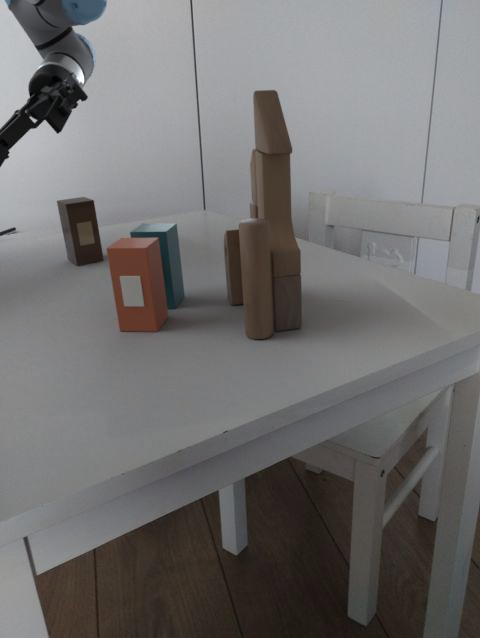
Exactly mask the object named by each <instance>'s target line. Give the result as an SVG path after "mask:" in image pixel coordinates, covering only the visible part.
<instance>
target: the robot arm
mask: <svg viewBox="0 0 480 638" xmlns="http://www.w3.org/2000/svg"><path fill="white" fill-rule="evenodd" d="M4 2H5V4H6V6H7V9H8V11H10V12H11V13H12V15H13V17H14V18H15V20H17V22H18V23H19V25H20V26H21V28H22V30H23V31H24V33H25V34H26V36H27V37H28V38H29V40H30V41H31V43H32V45H33V47H34V48H35V49H36V50H37V52H38V54H39V55H40V57H41V58H42V62H40V65H39V66H38V67H37V69H36V70H35V72H34V74H32V76H31V78H30V79H29V81H28V86H27V87H28V89H27V90H28V94H29V95H28V96H29V97H28V98H27V100H26V103H24V105H23V106H22V107H20V109H16V110H15V111H14V112H13V114H12V115H11V117H10V118H9V119H8V120H6V122H5V123H4V124H3V125H2V126H1V127H0V168H1V167H2V165H3V164H4V162H6V160H7V159H9V158H10V155H9V154H10V153H11V152H10V150H11V149H12V148H13V147H14V146H15V145H16V144H18V142H19V141H20V140H21V139H22V138H23V137H24V136H25V135H27V133H28V132H30V130H34V129H35V130H36V129H38V127H39V126H40V125H42V123H43V122H44V121H46V123H47V124H49V126H50V127H51V129H53V131H54V132H55V133H56V134H57V135H58V134H60V133H61V132H62V131H63V129H64V127H65V126H66V124H67V122H68V120H69V118H70V116H71V115H72V112H73V110H74V109H76V108H78V106H79V103H78V102H79V101H81V102H86V101H87V100H88V98H89V95H88V94H87V93H86V91H84V87H85V86H86V84H87V82H88V80H89V79H90V77H92V75H93V71H94V70H95V69H94V68H95V66H96V60H97V56H96V50H95V49H94V46H93V44H92V43H91V42H90V40H88V39H87V38H86V37H85V36H84V35H82V34H80V33H77V32H76V31H75V29H74V28H73V27H76V26H85V25H89V24H90V23H92V22H95V21H97V20H99V19H100V18H101V17H102V16H103V15H104V13H105V11H106V9H107V6H108V5H107V3H108V0H4ZM32 119H34V120H36V121H35V122H34V121H33V120H32ZM15 231H17V227H15V226H13V227H11V228H8V229H5V230H2V231H0V237H1V236H4V235H7V234H10V233H12V232H15Z"/></svg>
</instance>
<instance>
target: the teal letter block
mask: <svg viewBox="0 0 480 638" xmlns="http://www.w3.org/2000/svg"><path fill="white" fill-rule="evenodd" d="M129 234H130V238H159V244H160V253H161V261H162V269H163V277H164V285H165V293H166V301H167V309H168V310H175V309H177V308H178V306H180V303H181V302H182V301H183V300H184V298H185V288H184V278H183V277H184V276H183V268H182V260H181V249H180V242H179V241H180V240H179V231H178V224H177V222H164V223H163V222H160V223H156V222H155V223H154V222H153V223H151V222H150V223H142V224H140V225H139V226H137V227H135V228H134V229H133V230H130V231H129Z"/></svg>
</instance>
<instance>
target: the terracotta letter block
mask: <svg viewBox="0 0 480 638" xmlns="http://www.w3.org/2000/svg"><path fill="white" fill-rule="evenodd" d="M106 255H107V261H108V267H109V272H110V279H111V285H112V290H113V297H114V303H115V309H116V315H117V321H118V327H119V331H120V332H143V333H144V332H146V333H147V332H151V333H153V332H154V333H155V332H156V333H157V332H158V331H159V330H160V329H161V328H162V326H163V325H164V324H165V322H166V321H167V320H168V319H169V309H167V301H166V293H165V285H164V277H163V269H162V261H161V253H160V244H159V238H131V237H121V238H119V239H118V240H116V241H115V242H113V243H111V244H110V245H109V246H107V247H106Z"/></svg>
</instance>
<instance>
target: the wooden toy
mask: <svg viewBox="0 0 480 638" xmlns="http://www.w3.org/2000/svg"><path fill="white" fill-rule="evenodd" d="M252 101H253V103H252V104H253V122H254V123H253V125H254V146H255V147H254V148H253V149H252V151H251V155H250V162H249V170H250V171H249V173H250V188H251V189H250V190H251V191H250V192H251V201H250V202H249V213H250V214H249V217H250V218H246V219H243V220H240V221H239V223H238V228H236V229H235V228H234V229H227V230H225V232H224V236H223V254H224V255H223V257H224V268H225V270H224V271H225V281H226V294H227V295H226V296H227V300H228V301H229V302H230V304H231V306H236V305H237V306H238V305H243V319H244V332H245V335H246V337H247V338H249V339H252V340H264V339H267V338H270V337H272V336H273V334H274V331H275V332H283V331H291V330H297V329H298V330H299V329H302V328H303V308H302V307H303V306H302V305H303V304H302V303H303V302H302V301H303V300H302V265H301V264H302V262H301V259H302V258H301V253H302V252H301V249H300V247H299V244H298V241H297V239H296V236H295V231H294V225H293V215H292V175H291V174H292V172H291V168H292V167H291V155H292V153H293V146H292V141H291V139H290V135H289V131H288V128H287V123H286V119H285V116H284V112H283V107H282V105H281V101H280V97H279V94H278V91H277V90H275V89H265V90H264V89H261V90H254V91H253V95H252Z"/></svg>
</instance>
